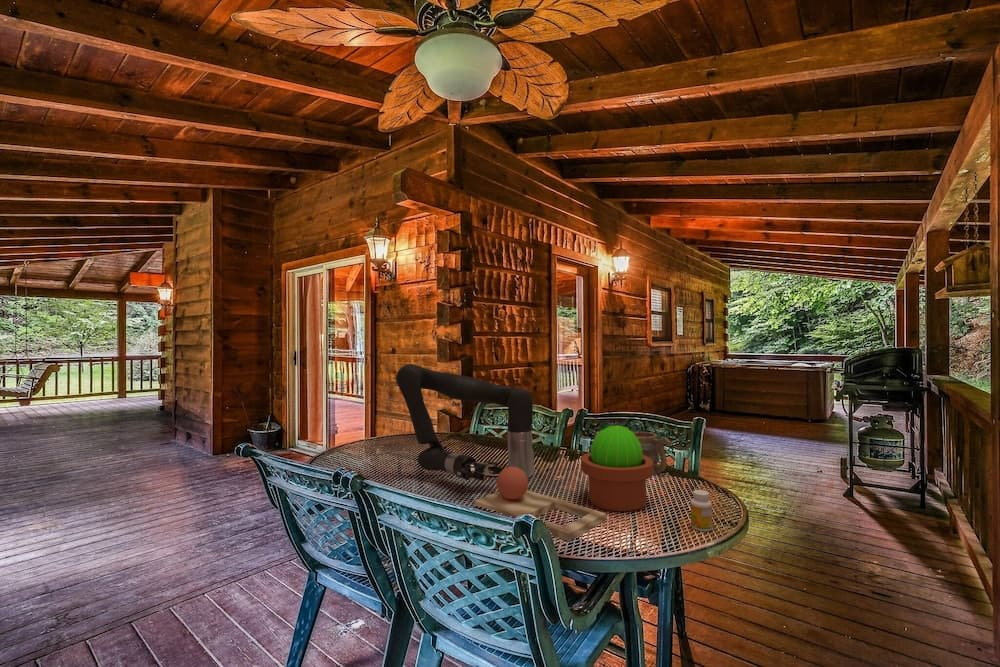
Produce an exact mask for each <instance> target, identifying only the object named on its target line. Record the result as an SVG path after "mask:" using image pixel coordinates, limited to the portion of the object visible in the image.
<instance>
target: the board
mask: <svg viewBox="0 0 1000 667" xmlns="http://www.w3.org/2000/svg"><path fill="white" fill-rule="evenodd" d="M475 506H478V507H482V508H488V509H489V510H494V511H496V512H494V513H496V514H499V513H502V515H505V516H512V517H516V516H520V515H522V514H531V515H533V516H535V517H536V518H538V517H539V516H542V515H544V514H546V513H548V512H550V511H552V510H554V509H555V510H559V511H562V512H565V513H568V514H571V515H575V516H577V517H580V518H578V519H576V520H574V521H572V522H571V523H569V524H567V525H564V526H562V525H559V524H555V523H553V522H550V521H547V520H544V519H542V518H540V519H541V520H543V521H544V522H545V524H546V526H547V527H548V528H549V530H550V532H551V533H552V535H551V536H553V537H556V538H559V539H561V540H564V541H567V542H571V541H572V540H574V539H577V538H578V537H579V536H581V535H583V534H585V533H586V532H588V531H590V530H592V529H594V528H595V527H597V526H599V525H601V524H602V523H604V522H606V521H607V513H606V512H602V511H599V510H595V509H591V508H589V507H585V506H582V505H578V504H576V503H572V502H568V501H565V500H561V499H558V498H556V497H551V496H549V495H548V496H547V495H545V494H542V493H538V492H534V491H531V490H528V489H527V491H526V493H525V494H524V495H523V496H522V497H521V498H519V499H516V500H510V499H506V498H505V497H503V496H502V495H501V494H500V493H499V491H496V492H494V493H491V494H488V495H486V496H483V497H481V498H478V499H475V500H474V507H475ZM481 510H482V511H484V510H483V509H481ZM490 512H491V511H490ZM490 512H489V513H490ZM497 512H499V513H497Z"/></svg>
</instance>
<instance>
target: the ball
mask: <svg viewBox="0 0 1000 667" xmlns="http://www.w3.org/2000/svg"><path fill="white" fill-rule="evenodd" d="M502 469H503V470H502V471H501V472H500V474H497V475H498V476H497V477H496V488H497V490H498V491H497V492H499V493H500V494H501V495H502V496H503V497H505V498H506V499H510V500H516V499H519V498H521V497H522V496H523V495H524V494H525V493H526V491H527V490H528V489H529V480H528V479H529V478H527V475H526V474H525V472H524V471H523V470H522V469H520V468H518V467H513V466H512V467H508V466H507V467H504V468H502Z"/></svg>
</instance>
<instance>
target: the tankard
mask: <svg viewBox="0 0 1000 667" xmlns="http://www.w3.org/2000/svg"><path fill="white" fill-rule="evenodd" d="M632 432H633V433H634V434H635V436H636V437H637V438H638V440H639V442H640V444H641V447H642V452H643V455H644V456H647V457H649V458H650V459H652V461H653V463H654V474H653V476H654V475H658V474H659V475H660V474H661V472H665V470H666V468H667V463H668V462H667V461H668V460H667V455H666V451H665V445H666V446H670V445H671V443H672V441H670V439H669V438H668V437H662V438H659V439H658V434H656V433H654V432H651V431H632ZM639 437H640V438H639ZM643 448H644V449H643ZM659 461H660V464H658V463H659Z"/></svg>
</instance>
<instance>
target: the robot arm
mask: <svg viewBox="0 0 1000 667" xmlns="http://www.w3.org/2000/svg"><path fill="white" fill-rule="evenodd" d="M395 376H396V377H395V382H396V385H397V386H398V388H399V391H400V392H401V394H402V397H403V399H404V401H405V404H406V406H407V408H408V413H409V415H410V416H409V417H410V419H411V423H412V424H411V425H412V427H413V431H414V434H415V437H416V440H417V443H418V444H419V445H427V444H428V445H429V447H427V448H425V449H424V450H422V451H421V452H420V453H419V454H418V455H417V462H418V465H419V466H420V467H421V469H423V470H425V471H432V472H433V471H444V472H446V473H450V474H451V475H454V476H457V478H460V479H463V480H466V481H469V480H479V481H485V475H488V474H489V473H493V474H497V475H499V474H500V472H501V471H502V470H503V469H504V468H503V467H502V466H499V464H498V462H493V461H490V460H484V462H481V461H477V460H476V459H475V457H473V456H471V455H467V454H463V453H459V452H453V451H448V450H445V448H444V447H443V445H442V444H441V441H440V440H439V438H438V436H437V435H436V432H435V427H434V424H433V421H432V418H431V416H430V413H429V411H428V409H427V407H426V404H425V402H424V397H423V393H422V389H427V390H430V391H435V392H438V393H440V394H441V395H442V396H443V395H444V396H446V397H449V398H451V399H454V400H459V401H462V402H468V403H479V404H486V403H487V404H494V405H498V406H502V407H506V408H507V412H508V413H507V415H508V416H507V417H508V419H507V467H512V466H513V467H518V468H520V469H522V470H523V471H524V472H525V474H526V475H527V478H528V479H530V478H532V477H533V476H532V475H535V450H534V448H533V423H534V422H533V421H534V419H533V417H534V412H533V410H534V409H533V408H534V404H533V402H534V401H533V397H532V395H531V393H530V392H529V391H528V390H527V389H525V388H523V387H521V386H510V385H509V386H508V385H501V384H495V383H492V382H490V381H486V380H483V379H479V378H475V377H471V376H466V375H462V374H455V373H450V372H441V371H437V370H432V369H429V368H426V367H423V366H420V365H416V364H413V363H408V364H404V365H403V366H401V367H400V368H399V370H398V371H397V372H396V375H395ZM531 476H532V477H531ZM529 477H530V478H529Z"/></svg>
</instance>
